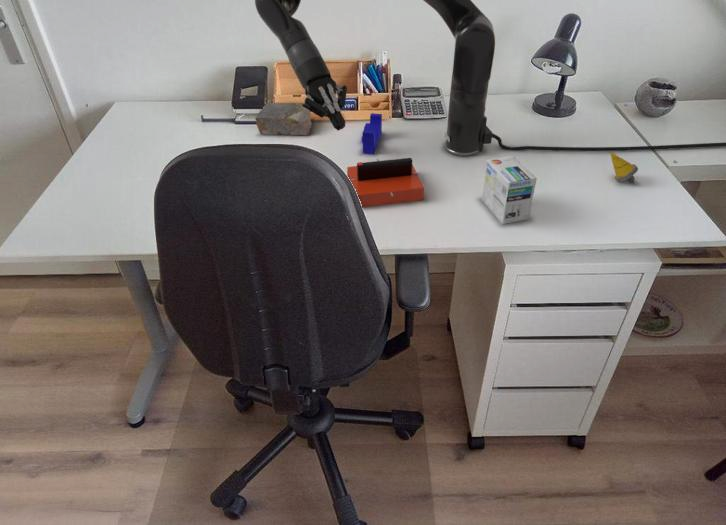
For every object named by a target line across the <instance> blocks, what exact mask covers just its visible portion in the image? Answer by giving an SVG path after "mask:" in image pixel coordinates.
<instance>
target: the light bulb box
mask: <svg viewBox="0 0 726 525" xmlns="http://www.w3.org/2000/svg"><path fill="white" fill-rule="evenodd" d="M485 167H486V168H485V175H484V181H483V188H482V194H481V195H482V196H481V201H482V202H483V203H484V204H485V205H486V207H487V208H488V209H489V211H490V212H491V213H492V214H493V215H494V216H495V217H496V218H497V220H498V221H499V222H500V224H502V225H505V224H511V223H516V222H521V221H527V220H529V219H530V218H529V217H530V213H531V207H532V204H533V198H534V193H535V188H536V184H537V180H538V178H537V177H536V176H535V175H534V174H533V173H532V172H530V171H529V169H527V168H526V167H525V166H524V165H523V164H522V163H520V161H519V160H517V159H516V157H515V156H513V155H510V156H504V157H497V158H490V159H487V161H486V166H485Z"/></svg>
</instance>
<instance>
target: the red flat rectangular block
mask: <svg viewBox="0 0 726 525" xmlns="http://www.w3.org/2000/svg"><path fill="white" fill-rule="evenodd" d="M376 161H380V160H379V158H376ZM346 172H347V178H348V177H349V179H350V181H351V182H352V184H353V186H354V188H355V189H356V192H357V194H358V197H359V199H360V201H361V204H362V207H361V208H368V207H377V206H385V205H393V204H401V203H411V202H418V201H419V202H420V201H424V196H425V186H424V184H423V182H422V180H421V178H420V176H419V174H420V172H419V171H417V170H416V168H415V166H414V163H412V175H409V176H400V177H390V178H381V179H372V180H363V181H358V179H357V165H353V166H347V167H346Z"/></svg>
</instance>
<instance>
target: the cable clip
mask: <svg viewBox="0 0 726 525" xmlns="http://www.w3.org/2000/svg"><path fill="white" fill-rule="evenodd" d="M382 125H383V114H382V113H373V112H371V113H370V115H369V122H365V125H364V127H363V131H362V136H361V143H362V154H363V155H364V154H365V155H367V154H368V155H375V153H376V150H377V147H378V145H379V143H380V139H381V137H382V132H383V126H382Z"/></svg>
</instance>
